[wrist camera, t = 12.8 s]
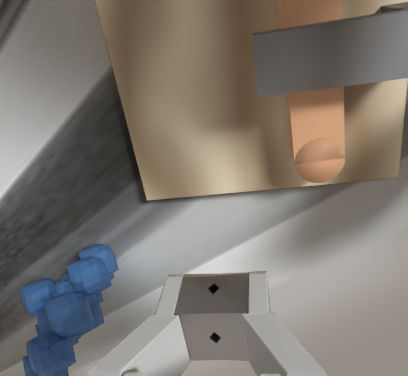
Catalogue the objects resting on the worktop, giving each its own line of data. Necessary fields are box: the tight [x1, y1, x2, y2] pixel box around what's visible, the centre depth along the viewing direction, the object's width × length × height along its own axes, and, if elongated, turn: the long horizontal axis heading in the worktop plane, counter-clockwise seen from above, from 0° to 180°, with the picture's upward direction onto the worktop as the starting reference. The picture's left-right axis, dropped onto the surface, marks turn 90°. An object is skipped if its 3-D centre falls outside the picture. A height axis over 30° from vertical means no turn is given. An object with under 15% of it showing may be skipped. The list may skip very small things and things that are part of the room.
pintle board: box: [95, 0, 408, 200], centre depth 21 cm, size 18×20×6 cm
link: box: [278, 0, 345, 183], centre depth 21 cm, size 15×4×2 cm, turn 11°
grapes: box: [20, 244, 118, 376], centre depth 28 cm, size 12×7×12 cm, turn 154°
